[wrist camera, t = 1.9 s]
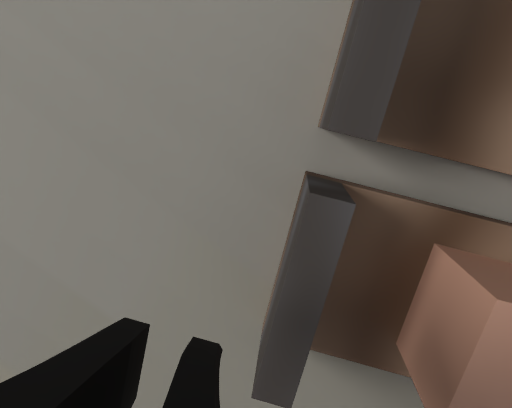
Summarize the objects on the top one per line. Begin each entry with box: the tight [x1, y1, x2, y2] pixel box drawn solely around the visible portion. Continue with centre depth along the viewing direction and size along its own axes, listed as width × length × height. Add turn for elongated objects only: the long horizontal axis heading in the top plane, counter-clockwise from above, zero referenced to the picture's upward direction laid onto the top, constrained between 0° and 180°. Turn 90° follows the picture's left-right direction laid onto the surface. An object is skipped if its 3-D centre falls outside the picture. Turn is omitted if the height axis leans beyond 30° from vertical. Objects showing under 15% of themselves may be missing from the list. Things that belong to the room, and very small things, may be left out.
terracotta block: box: [396, 243, 512, 408], centre depth 14 cm, size 5×5×5 cm
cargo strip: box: [252, 171, 512, 408], centre depth 15 cm, size 12×8×5 cm, turn 76°
